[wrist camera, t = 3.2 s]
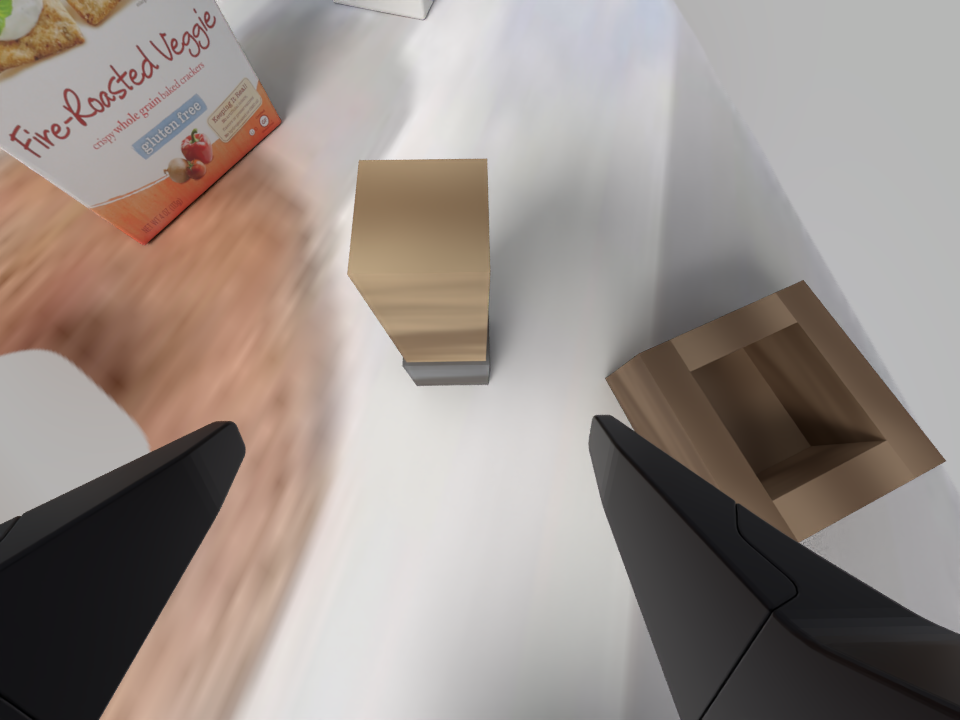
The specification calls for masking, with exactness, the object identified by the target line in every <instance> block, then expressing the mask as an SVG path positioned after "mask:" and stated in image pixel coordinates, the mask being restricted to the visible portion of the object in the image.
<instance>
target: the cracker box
mask: <svg viewBox="0 0 960 720" xmlns="http://www.w3.org/2000/svg"><path fill="white" fill-rule="evenodd" d="M280 123H281V119H280V118H279V116H278V114H277V112H276V110H275V109H274V107H273V105H272V103H271V101H270V100H269V98H268V96H267V94H266V92H265V90H264V88H263V86H262V84H261V83H260V81H259V79H258V77H257V75H256V74H255V72H254V70H253V68H252V66H251V65H250V63H249V61H248V59H247V57H246V56H245V54H244V52H243V50H242V49H241V47H240V45H239V43H238V41H237V39H236V38H235V36H234V34H233V32H232V30H231V28H230V27H229V25H228V23H227V21H226V19H225V18H224V16H223V14H222V12H221V10H220V8H219V7H218V5H217V3H216V1H215V0H0V148H1V149H3V150H4V151H6V152H7V153H8V154H10V155H11V156H13V157H14V158H16V159H17V160H19V161H20V162H21V163H23V164H24V165H26V166H27V167H29V168H30V169H32V170H33V171H35V172H36V173H38V174H39V175H40V176H42V177H43V178H45V179H46V180H48V181H49V182H51V183H52V184H54V185H55V186H57V187H58V188H60V189H61V190H62V191H64V192H65V193H67V194H68V195H70V196H71V197H73V198H74V199H76V200H77V201H78V202H80V203H81V204H83V205H84V206H86V207H87V208H89V209H90V210H91V211H93V212H94V213H96V214H97V215H99V216H100V217H102V218H103V219H105V220H106V221H108V222H109V223H111V224H112V225H114V226H115V227H117V228H118V229H120V230H121V231H123V232H124V233H125V234H127V235H128V236H130V237H131V238H133V239H134V240H136V241H137V242H139V243H140V244H142V245H146V244H147V243H148V242H149V241H150V240H151V239H152V238H153V237H154V236H155V235H157V234H158V233H159V232H160V231H161V230H162V229H163V228H164V227H166V226H167V225H168V224H169V223H170V222H171V221H172V220H173V219H174V218H176V217H177V216H178V215H179V214H180V213H181V212H182V211H183V210H184V209H185V208H187V207H188V206H189V205H190V204H191V203H192V202H193V201H194V200H196V199H197V198H198V197H199V196H200V195H201V194H202V193H203V192H205V191H206V190H207V189H208V188H209V187H210V186H211V185H212V184H213V183H214V182H216V181H217V180H218V179H219V178H220V177H221V176H222V175H223V174H225V173H226V172H227V171H228V170H229V169H230V168H231V167H232V166H233V165H235V164H236V163H237V162H238V161H239V160H240V159H241V158H242V157H243V156H245V155H246V154H247V153H248V152H249V151H250V150H251V149H252V148H253V147H255V146H256V145H257V144H258V143H259V142H260V141H261V140H262V139H264V138H265V137H266V136H267V135H268V134H269V133H270V132H271V131H273V130H274V129H275V128H276V127H277V126H278V125H279V124H280Z"/></svg>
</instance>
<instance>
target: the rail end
mask: <svg viewBox="0 0 960 720" xmlns="http://www.w3.org/2000/svg"><path fill="white" fill-rule="evenodd" d="M347 274H348V276H349V277H350V279H351V280H352V282H353V283H354V285H355V286H356V288H357V289H358V291H359V292H360V294H361V295H362V297H363V298H364V300H365V301H366V303H367V304H368V306H369V307H370V309H371V310H372V311H373V313H374V314H375V316H376V317H377V319H378V320H379V322H380V323H381V325H382V326H383V328H384V329H385V331H386V332H387V334H388V335H389V337H390V338H391V340H392V341H393V343H394V344H395V346H396V347H397V349H398V350H399V352H400V353H401V355H402V356H403V367H404V369H405V370H406V372H407V373H408V374H409V376H410V377H411V378H412V380H413V381H414V382H415V384H416V385H417V386H432V385H488V379H489V368H490V354H489V314H488V306H489V286H490V246H489V209H488V173H487V159H429V160H359V165H358V175H357V184H356V194H355V204H354V214H353V224H352V234H351V243H350V253H349V263H348V273H347Z"/></svg>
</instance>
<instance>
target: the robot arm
mask: <svg viewBox="0 0 960 720" xmlns="http://www.w3.org/2000/svg"><path fill="white" fill-rule="evenodd" d="M245 450H246V449H245V444H244V442H243V439H242V437H241V435H240V432H239V430H238V427H237V425H236V424H235V423H234V422H232V421H216V422H213V423H211V424H209V425H207V426H204V427H202V428H200V429H198V430H196V431H194V432H192V433H190V434H188V435H186V436H184V437H182V438H179V439H177V440H175V441H173V442H171V443H169V444H167V445H165V446H163V447H161V448H159V449H157V450H154V451H152V452H150V453H148V454H146V455H144V456H142V457H140V458H138V459H136V460H134V461H132V462H130V463H128V464H126V465H123V466H121V467H119V468H117V469H115V470H113V471H111V472H109V473H107V474H105V475H102V476H100V477H99V478H96V479H95V480H92V481H90V482H88V483H86V484H84V485H82V486H80V487H78V488H76V489H73V490H71V491H69V492H67V493H65V494H63V495H61V496H59V497H57V498H55V499H53V500H50V501H49V502H46V503H44V504H42V505H40V506H38V507H36V508H34V509H32V510H30V511H27V512H26V513H24V514H23V515H22V516H17V517H15V518H13V519H11V520H9V521H6V522H4V523H2V524H0V720H99V719H100V717H101V716H102V714H103V712H104V710H105V709H106V707H107V705H108V704H109V702H110V700H111V698H112V697H113V695H114V693H115V691H116V690H117V688H118V686H119V684H120V683H121V681H122V679H123V678H124V676H125V674H126V672H127V671H128V669H129V667H130V665H131V664H132V662H133V660H134V659H135V657H136V655H137V653H138V652H139V650H140V648H141V646H142V645H143V643H144V641H145V639H146V638H147V636H148V634H149V633H150V631H151V629H152V627H153V626H154V624H155V622H156V620H157V619H158V617H159V615H160V614H161V612H162V610H163V608H164V607H165V605H166V603H167V601H168V600H169V598H170V596H171V594H172V593H173V591H174V589H175V588H176V586H177V584H178V582H179V581H180V579H181V577H182V575H183V574H184V572H185V570H186V569H187V567H188V565H189V563H190V562H191V560H192V558H193V556H194V555H195V553H196V551H197V549H198V548H199V546H200V544H201V543H202V541H203V539H204V537H205V536H206V534H207V532H208V530H209V529H210V527H211V525H212V524H213V522H214V520H215V518H216V516H217V514H218V513H219V511H220V509H221V507H222V505H223V503H224V500H225V498H226V496H227V494H228V492H229V489H230V487H231V485H232V483H233V480H234V478H235V476H236V474H237V472H238V469H239V467H240V465H241V463H242V461H243V458H244V456H245ZM589 451H590V456H591V460H592V464H593V468H594V472H595V477H596V481H597V485H598V489H599V493H600V497H601V501H602V505H603V508H604V511H605V514H606V517H607V519H608V522H609V525H610V528H611V530H612V533H613V536H614V539H615V541H616V544H617V547H618V550H619V552H620V555H621V558H622V560H623V563H624V566H625V569H626V571H627V574H628V577H629V580H630V582H631V585H632V588H633V591H634V593H635V596H636V599H637V602H638V604H639V607H640V610H641V613H642V615H643V618H644V621H645V623H646V626H647V629H648V632H649V634H650V637H651V640H652V643H653V645H654V648H655V651H656V654H657V656H658V659H659V662H660V665H661V667H662V670H663V673H664V676H665V678H666V681H667V684H668V686H669V689H670V692H671V695H672V697H673V700H674V703H675V706H676V708H677V711H678V714H679V717H680V719H681V720H960V634H958V633H955V632H953V631H951V630H948V629H946V628H944V627H941V626H939V625H937V624H935V623H933V622H931V621H929V620H927V619H925V618H923V617H921V616H919V615H917V614H916V613H914V612H912V611H910V610H909V609H907V608H905V607H903V606H902V605H900V604H898V603H897V602H895V601H893V600H892V599H890V598H888V597H887V596H885V595H884V594H882V593H880V592H879V591H877V590H875V589H874V588H872V587H870V586H869V585H867V584H865V583H864V582H862V581H860V580H859V579H857V578H855V577H854V576H852V575H850V574H849V573H847V572H846V571H844V570H842V569H841V568H839V567H837V566H836V565H834V564H832V563H831V562H829V561H827V560H826V559H824V558H822V557H821V556H819V555H817V554H816V553H814V552H813V551H811V550H809V549H808V548H806V547H805V546H803V545H801V544H800V543H798V542H797V541H795V540H793V539H792V538H790V537H789V536H787V535H785V534H784V533H782V532H781V531H779V530H778V529H776V528H775V527H773V526H772V525H770V524H769V523H767V522H766V521H764V520H763V519H761V518H760V517H758V516H757V515H755V514H754V513H752V512H751V511H749V510H748V509H747V508H745V507H744V506H742V505H741V504H739V503H737V504H736V502H735V500H733V499H732V498H730V497H729V496H728V495H726V494H725V493H723V492H722V491H720V490H719V489H717V488H716V487H714V486H713V485H712V484H710V483H709V482H707V481H706V480H704V479H703V478H701V477H700V476H698V475H697V474H696V473H694V472H693V471H691V470H690V469H688V468H687V467H685V466H684V465H683V464H681V463H680V462H678V461H677V460H675V459H674V458H672V457H671V456H669V455H668V454H667V453H665V452H664V451H662V450H661V449H659V448H658V447H656V446H655V445H653V444H652V443H651V442H649V441H648V440H646V439H645V438H643V437H642V436H640V435H639V434H638V433H636V432H635V431H633V430H632V429H630V428H629V427H627V426H626V425H624V424H623V423H622V422H620V421H619V420H617V419H616V418H614V417H613V416H611V415H595V416H594V417H593V419H592V423H591V429H590V435H589Z"/></svg>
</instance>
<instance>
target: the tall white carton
mask: <svg viewBox="0 0 960 720" xmlns="http://www.w3.org/2000/svg"><path fill="white" fill-rule="evenodd" d="M433 1H434V0H333V2H335V3H338V4H343V5H349V6H354V7H359V8H364V9H369V10H374V11H379V12H385V13H390V14H395V15H400V16H405V17H410V18H415V19H421V20H424V19H425V18H426V15H427V13H428V11H429V9H430V7H431V5H432V3H433Z"/></svg>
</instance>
